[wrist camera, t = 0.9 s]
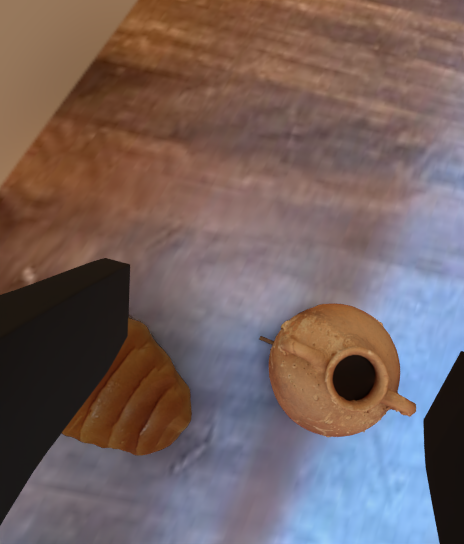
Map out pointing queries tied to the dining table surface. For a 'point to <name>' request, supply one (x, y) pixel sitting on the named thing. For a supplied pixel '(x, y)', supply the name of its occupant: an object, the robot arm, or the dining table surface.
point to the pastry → (135, 400)
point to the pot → (335, 370)
